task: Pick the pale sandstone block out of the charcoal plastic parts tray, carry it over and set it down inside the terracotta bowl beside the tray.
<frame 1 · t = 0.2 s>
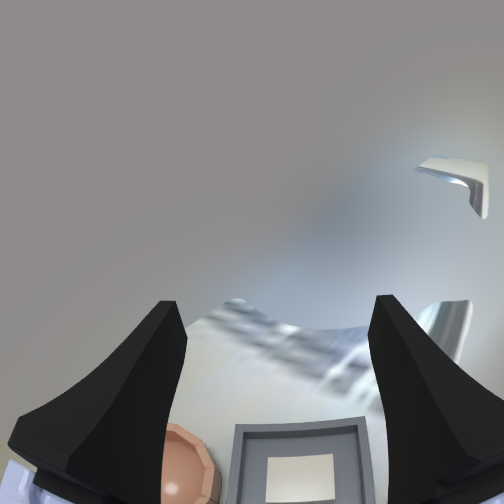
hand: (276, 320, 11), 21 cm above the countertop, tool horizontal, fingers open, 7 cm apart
stone block: (301, 490, 20), point 1 cm above the countertop, touching parts tray
parts tray: (301, 492, 21), on the countertop
bowl: (162, 483, 22), on the countertop
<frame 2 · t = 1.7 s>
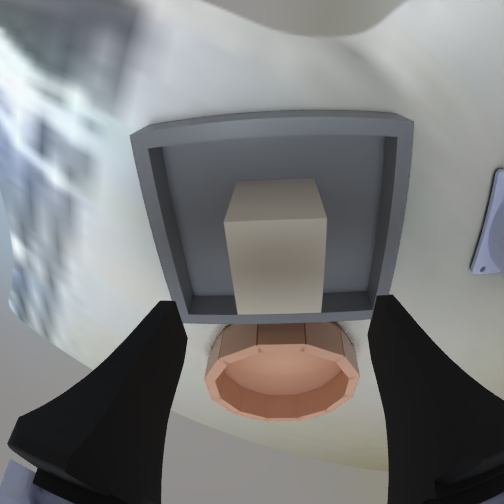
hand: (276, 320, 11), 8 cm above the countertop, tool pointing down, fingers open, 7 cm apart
stone block: (277, 222, 17), point 1 cm above the countertop, touching parts tray
parts tray: (277, 217, 17), on the countertop
bowl: (282, 359, 25), on the countertop
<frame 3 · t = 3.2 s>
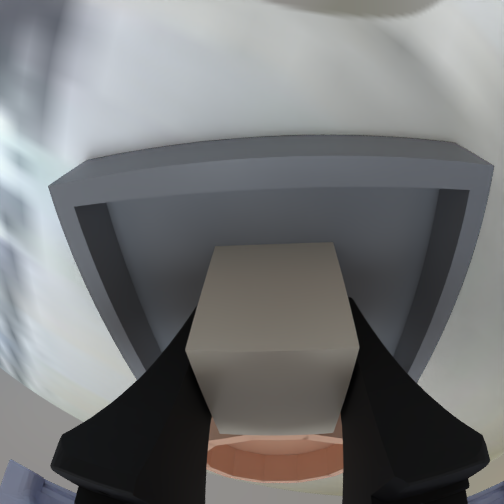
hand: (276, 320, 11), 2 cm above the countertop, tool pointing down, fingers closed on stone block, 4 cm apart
stone block: (276, 299, 12), point 1 cm above the countertop, touching gripper, parts tray
parts tray: (276, 289, 12), on the countertop
bowl: (281, 426, 19), on the countertop
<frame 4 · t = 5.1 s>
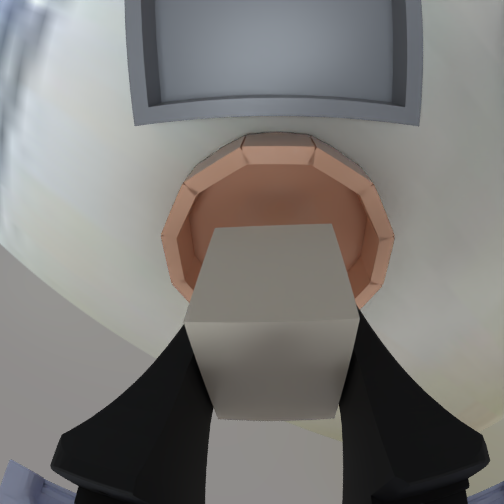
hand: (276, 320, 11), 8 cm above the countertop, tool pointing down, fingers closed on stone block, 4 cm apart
stone block: (276, 283, 12), point 7 cm above the countertop, touching gripper
bowl: (278, 230, 18), on the countertop
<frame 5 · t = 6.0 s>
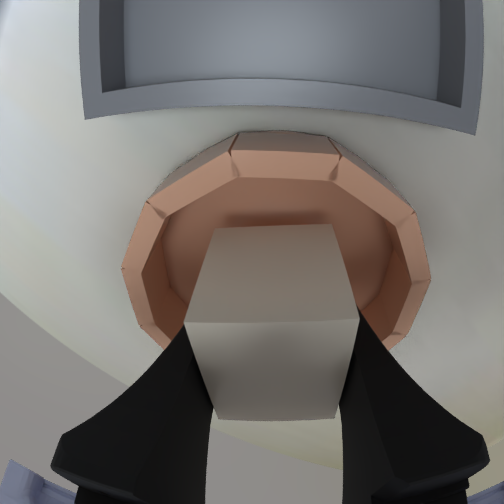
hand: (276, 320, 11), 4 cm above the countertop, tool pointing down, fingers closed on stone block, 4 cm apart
stone block: (276, 283, 12), point 2 cm above the countertop, touching gripper
bowl: (277, 260, 14), on the countertop
when the fingers open (3 cm above the countertop, at t = 6.9 s): stone block drops 1 cm, resting on bowl.
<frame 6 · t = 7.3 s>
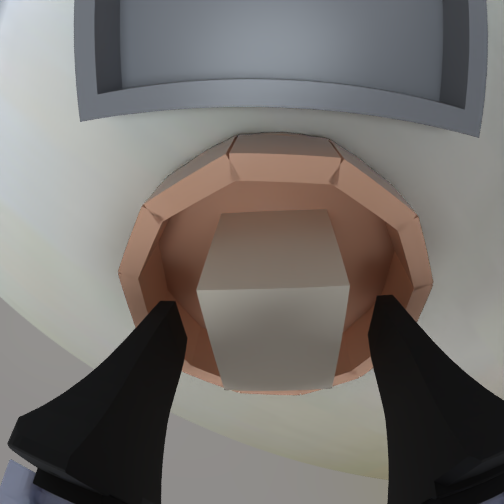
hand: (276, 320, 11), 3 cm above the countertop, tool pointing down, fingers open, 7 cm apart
stone block: (276, 265, 13), point 1 cm above the countertop, touching bowl
bowl: (276, 264, 14), on the countertop
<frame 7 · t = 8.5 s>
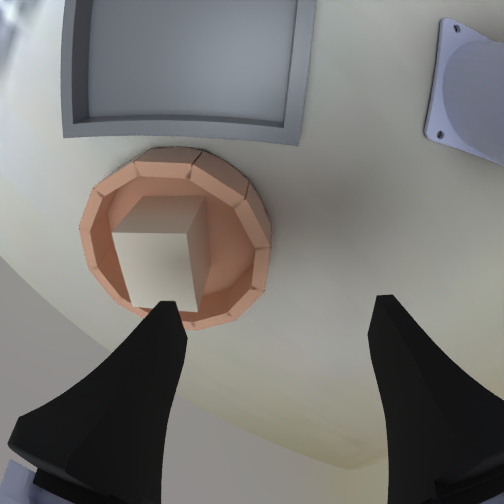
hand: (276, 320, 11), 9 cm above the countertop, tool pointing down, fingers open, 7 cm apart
stone block: (177, 231, 19), point 1 cm above the countertop, touching bowl
parts tray: (185, 26, 13), on the countertop
bowl: (180, 232, 20), on the countertop
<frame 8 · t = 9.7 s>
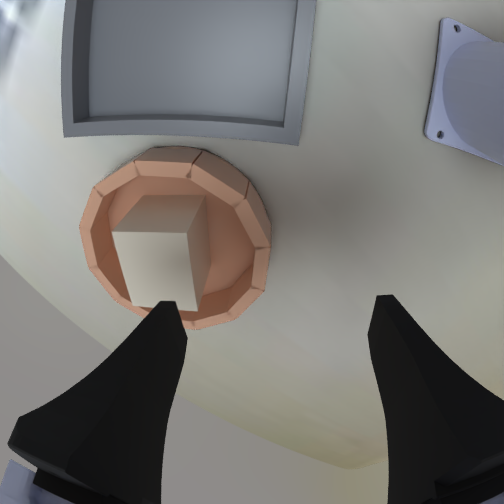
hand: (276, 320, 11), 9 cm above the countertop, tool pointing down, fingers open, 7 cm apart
stone block: (177, 231, 19), point 1 cm above the countertop, touching bowl
parts tray: (185, 25, 13), on the countertop
bowl: (180, 231, 20), on the countertop
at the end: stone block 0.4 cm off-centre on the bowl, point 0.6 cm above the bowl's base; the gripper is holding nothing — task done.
